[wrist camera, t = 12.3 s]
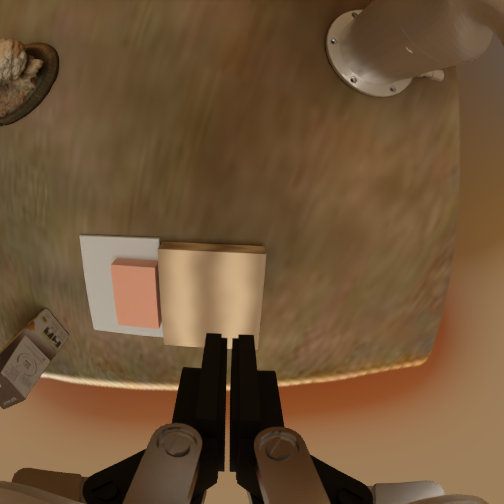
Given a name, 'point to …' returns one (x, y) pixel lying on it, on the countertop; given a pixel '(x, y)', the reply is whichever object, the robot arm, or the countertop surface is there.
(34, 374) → the coffee box
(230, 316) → the plate
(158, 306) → the salmon pink rectangular block
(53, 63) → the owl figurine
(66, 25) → the countertop surface
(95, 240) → the mat
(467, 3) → the robot arm
